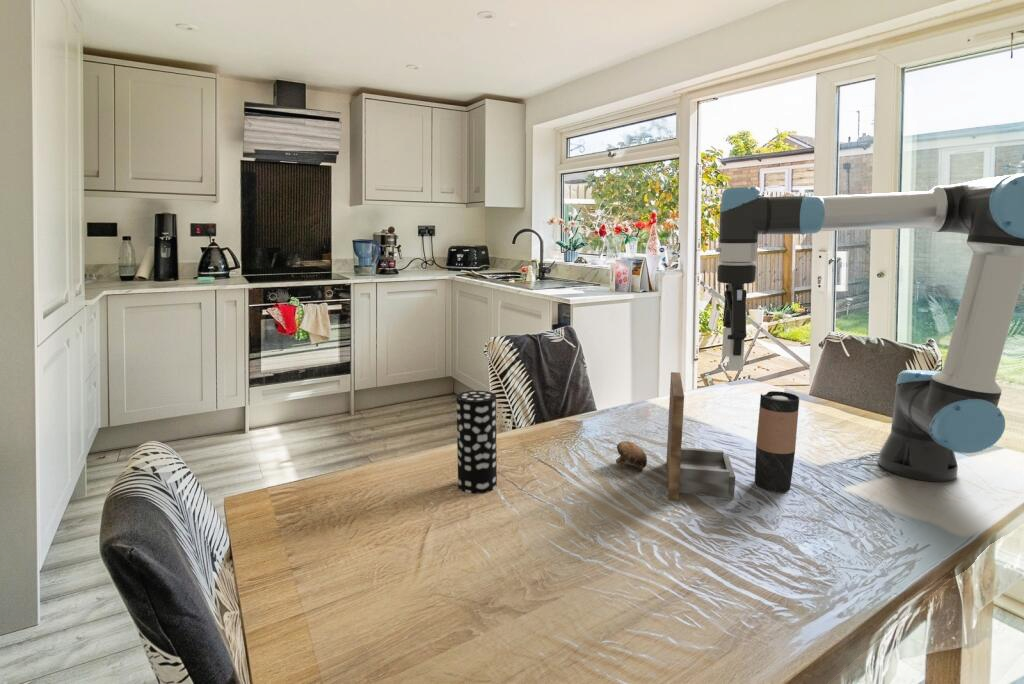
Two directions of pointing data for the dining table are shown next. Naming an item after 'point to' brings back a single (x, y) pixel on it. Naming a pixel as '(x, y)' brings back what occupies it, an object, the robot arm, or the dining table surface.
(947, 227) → the robot arm
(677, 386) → the l-shaped stand
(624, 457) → the mushroom
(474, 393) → the white-spotted black cylinder
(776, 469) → the travel mug
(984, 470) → the dining table surface
